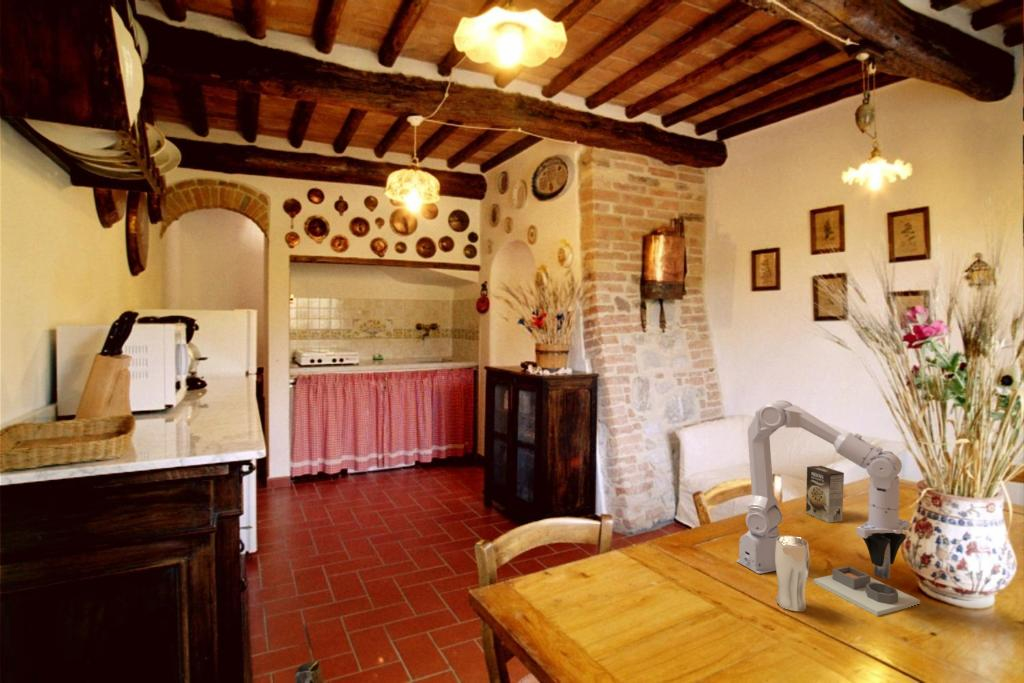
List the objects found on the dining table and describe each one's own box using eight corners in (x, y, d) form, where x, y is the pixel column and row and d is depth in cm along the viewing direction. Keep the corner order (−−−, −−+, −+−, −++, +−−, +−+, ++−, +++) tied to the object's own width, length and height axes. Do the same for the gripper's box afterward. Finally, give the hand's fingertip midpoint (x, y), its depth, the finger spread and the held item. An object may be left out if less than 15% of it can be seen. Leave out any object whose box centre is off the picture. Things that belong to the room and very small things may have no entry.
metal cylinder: (883, 579, 122) (884, 540, 122) (871, 573, 125) (871, 535, 125) (893, 577, 123) (894, 539, 123) (880, 571, 126) (881, 534, 125)
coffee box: (804, 513, 181) (805, 466, 180) (819, 511, 183) (820, 464, 182) (828, 523, 172) (829, 473, 172) (843, 521, 174) (844, 472, 173)
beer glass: (790, 615, 118) (791, 548, 118) (767, 599, 125) (768, 536, 124) (815, 610, 120) (816, 545, 120) (791, 595, 127) (792, 533, 126)
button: (852, 586, 129) (852, 581, 129) (839, 579, 132) (839, 575, 132) (863, 583, 130) (863, 579, 130) (849, 577, 133) (849, 572, 133)
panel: (877, 616, 118) (877, 600, 118) (813, 582, 133) (813, 569, 133) (920, 604, 123) (920, 589, 123) (854, 573, 138) (854, 560, 138)
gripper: (878, 515, 117) (877, 576, 118) (923, 507, 122) (922, 565, 122) (848, 505, 124) (847, 562, 124) (892, 497, 129) (890, 553, 129)
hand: (882, 563), depth 124 cm, fingers closed on metal cylinder, 3 cm apart
